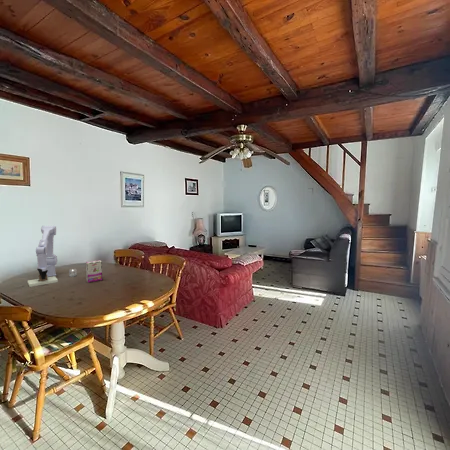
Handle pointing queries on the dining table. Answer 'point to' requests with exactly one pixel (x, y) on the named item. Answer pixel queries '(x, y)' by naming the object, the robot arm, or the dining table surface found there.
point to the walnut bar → (42, 279)
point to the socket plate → (37, 282)
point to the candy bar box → (94, 271)
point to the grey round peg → (72, 272)
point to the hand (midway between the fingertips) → (42, 277)
